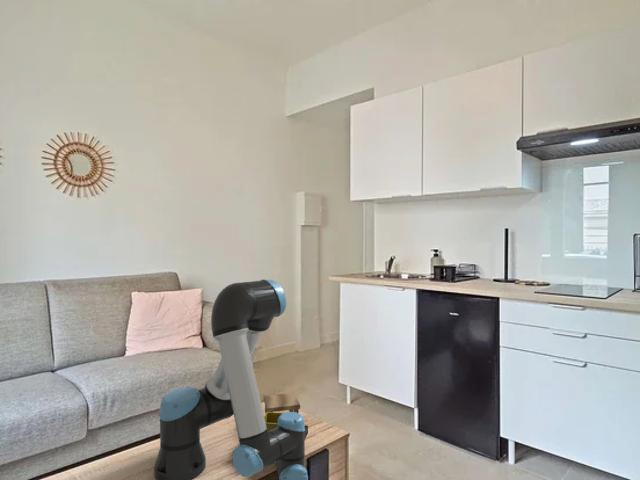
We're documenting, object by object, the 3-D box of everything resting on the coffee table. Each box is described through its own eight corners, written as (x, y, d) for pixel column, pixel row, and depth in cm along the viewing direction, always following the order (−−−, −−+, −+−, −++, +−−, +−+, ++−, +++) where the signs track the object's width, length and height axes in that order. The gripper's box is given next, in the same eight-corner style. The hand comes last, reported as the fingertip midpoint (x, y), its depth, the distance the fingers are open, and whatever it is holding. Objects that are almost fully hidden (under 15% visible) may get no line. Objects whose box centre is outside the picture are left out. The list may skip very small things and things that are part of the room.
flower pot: (290, 437, 146) (290, 412, 146) (286, 450, 137) (285, 423, 137) (266, 436, 147) (266, 411, 147) (260, 449, 138) (260, 422, 138)
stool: (267, 435, 147) (267, 408, 147) (263, 421, 159) (263, 396, 159) (300, 431, 150) (300, 404, 150) (293, 417, 162) (293, 392, 162)
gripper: (244, 472, 121) (239, 438, 141) (325, 459, 127) (309, 429, 148) (243, 446, 121) (239, 416, 141) (325, 435, 127) (309, 408, 148)
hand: (275, 422), depth 144 cm, fingers open, 13 cm apart
